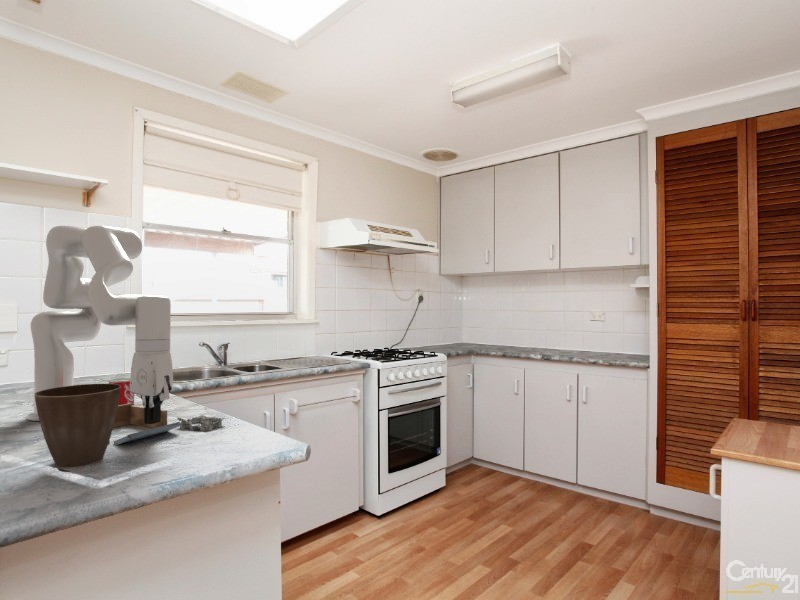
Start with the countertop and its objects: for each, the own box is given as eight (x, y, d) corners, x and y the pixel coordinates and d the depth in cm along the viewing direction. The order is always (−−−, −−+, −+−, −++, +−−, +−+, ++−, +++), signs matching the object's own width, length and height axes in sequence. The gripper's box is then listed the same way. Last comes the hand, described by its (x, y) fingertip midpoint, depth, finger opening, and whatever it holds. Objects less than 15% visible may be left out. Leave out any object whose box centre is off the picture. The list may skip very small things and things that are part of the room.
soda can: (120, 425, 131) (121, 382, 131) (99, 424, 133) (99, 381, 133) (139, 419, 138) (140, 378, 138) (119, 418, 140) (119, 377, 140)
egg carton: (175, 433, 125) (175, 417, 125) (198, 426, 131) (198, 411, 132) (204, 437, 120) (204, 421, 120) (226, 430, 127) (226, 415, 127)
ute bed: (68, 441, 116) (68, 415, 116) (130, 426, 130) (131, 403, 130) (109, 451, 108) (109, 422, 108) (171, 434, 123) (171, 409, 123)
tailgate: (113, 441, 110) (129, 434, 107) (163, 428, 122) (179, 421, 119) (114, 446, 110) (131, 438, 107) (164, 432, 121) (180, 425, 119)
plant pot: (22, 484, 88) (23, 398, 89) (45, 460, 102) (46, 386, 102) (115, 472, 94) (115, 392, 95) (125, 451, 108) (125, 381, 108)
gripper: (118, 346, 114) (117, 422, 114) (159, 349, 107) (158, 430, 107) (147, 344, 121) (146, 416, 120) (187, 346, 114) (187, 423, 114)
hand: (152, 422), depth 114 cm, fingers closed
